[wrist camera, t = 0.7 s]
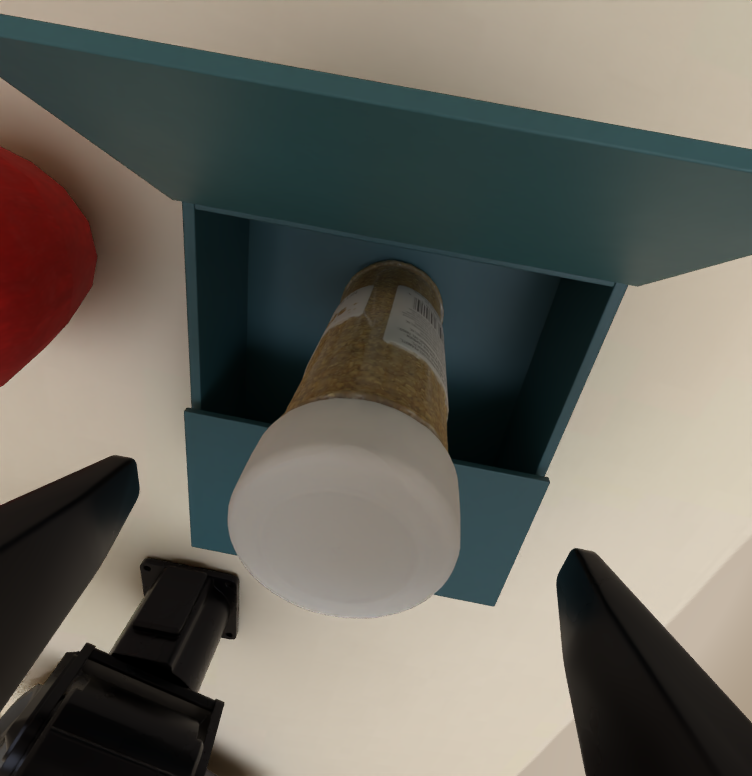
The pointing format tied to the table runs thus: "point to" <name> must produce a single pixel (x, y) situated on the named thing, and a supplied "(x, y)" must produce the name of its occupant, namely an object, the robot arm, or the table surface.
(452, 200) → the panel
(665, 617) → the table surface
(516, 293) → the box
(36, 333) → the apple
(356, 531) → the sprinkles bottle
